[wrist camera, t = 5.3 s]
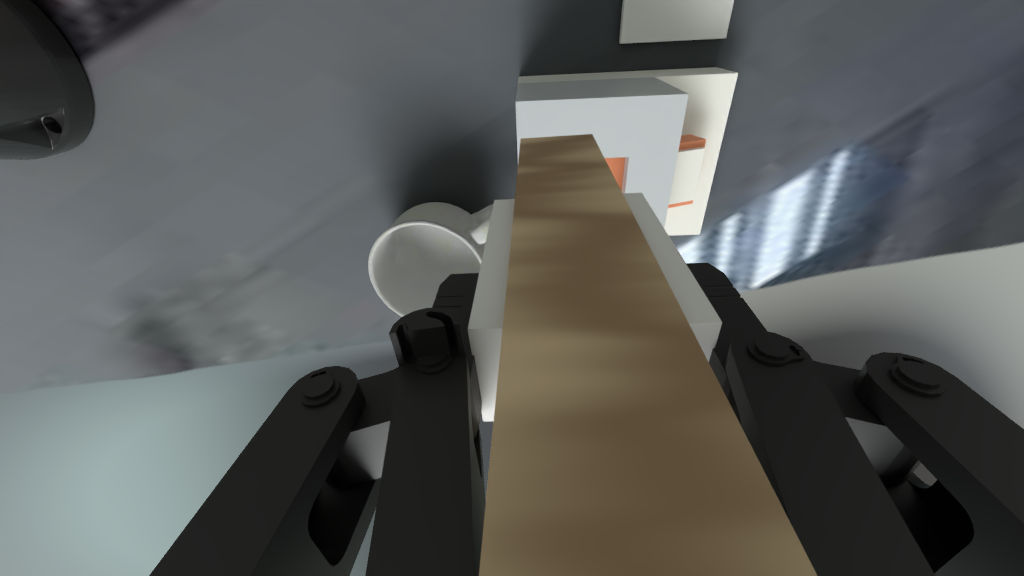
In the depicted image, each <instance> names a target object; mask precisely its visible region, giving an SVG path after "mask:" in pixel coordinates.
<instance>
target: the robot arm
mask: <svg viewBox="0 0 1024 576" xmlns="http://www.w3.org/2000/svg"><path fill="white" fill-rule="evenodd" d="M93 115H94V109H93V100H92V94H91V91H90V87H89V84H88V81H87V78H86V76H85V73H84V71H83V69H82V67H81V65H80V63H79V61H78V59H77V57H76V56H75V54H74V52H73V51H72V49H71V48H70V46H69V45H68V43H67V42H66V40H65V39H64V37H63V36H62V35H61V33H60V32H59V31H58V29H57V28H56V27H55V26H54V24H53V23H52V22H51V21H50V20H49V19H48V18H47V16H46V15H45V14H44V13H43V12H42V11H41V10H40V9H39V8H38V7H37V6H36V5H35V4H34V3H33V2H32V1H31V0H0V159H19V160H29V159H39V158H45V157H48V156H52V155H55V154H58V153H62V152H65V151H69V150H71V149H73V148H75V147H77V146H78V145H80V144H81V143H82V142H83V141H84V140H85V139H86V137H87V136H88V134H89V132H90V130H91V127H92V123H93ZM623 195H624V197H625V199H626V201H627V203H628V205H629V207H630V209H631V211H632V213H633V215H634V217H635V219H636V221H637V223H638V225H639V227H640V229H641V231H642V233H643V235H644V237H645V239H646V240H647V242H648V244H649V246H650V248H651V250H652V252H653V254H654V256H655V258H656V260H657V262H658V264H659V266H660V268H661V270H662V272H663V274H664V276H665V278H666V280H667V282H668V284H669V286H670V288H671V290H672V291H673V293H674V295H675V297H676V299H677V301H678V303H679V305H680V307H681V309H682V311H683V313H684V315H685V317H686V319H687V321H688V323H689V325H690V327H691V329H692V331H693V333H694V335H695V337H696V339H697V341H698V342H699V344H700V346H701V348H702V350H703V352H704V354H705V356H706V358H707V360H708V362H709V364H710V366H711V368H712V370H713V372H714V374H715V376H716V378H717V380H718V382H719V384H720V386H721V388H722V390H723V392H724V393H725V395H726V397H727V399H728V401H729V403H730V405H731V407H732V409H733V411H734V413H735V415H736V417H737V419H738V421H739V423H740V425H741V427H742V429H743V431H744V433H745V435H746V437H747V439H748V441H749V443H750V444H751V446H752V448H753V450H754V452H755V454H756V456H757V458H758V460H759V462H760V464H761V466H762V468H763V470H764V472H765V474H766V476H767V478H768V480H769V482H770V484H771V486H772V488H773V490H774V492H775V494H776V495H777V497H778V499H779V501H780V503H781V505H782V507H783V509H784V511H785V513H786V515H787V517H788V519H789V521H790V523H791V525H792V527H793V529H794V531H795V533H796V535H797V537H798V539H799V541H800V543H801V545H802V546H803V548H804V550H805V552H806V554H807V556H808V558H809V560H810V562H811V564H812V566H813V568H814V570H815V572H816V574H817V576H1024V429H1023V428H1021V427H1020V426H1019V425H1017V424H1016V423H1015V422H1014V421H1012V420H1010V419H1009V418H1008V417H1007V416H1006V415H1005V414H1003V413H1002V412H1001V411H999V410H998V409H997V408H995V407H994V406H993V405H991V404H990V403H989V402H988V401H986V400H985V399H984V398H983V397H981V396H980V395H979V394H977V393H976V392H975V391H973V390H972V389H971V388H970V387H968V386H967V385H966V384H964V383H963V382H962V381H960V380H959V379H958V378H957V377H955V376H954V375H952V374H950V373H949V372H947V371H946V370H944V369H943V368H941V367H939V366H937V365H935V364H933V363H930V362H928V361H925V360H923V359H921V358H917V357H914V356H909V355H905V354H901V353H885V352H883V353H879V354H876V355H872V356H871V357H870V358H869V359H868V360H867V361H866V362H865V364H864V366H863V368H862V370H856V369H851V368H846V367H841V366H835V365H830V364H825V363H820V362H816V361H813V360H812V358H811V357H810V355H809V354H808V353H807V352H806V351H805V350H804V349H803V347H801V346H800V345H798V344H797V343H795V342H793V341H792V340H790V339H789V338H786V337H783V336H781V335H778V334H776V333H772V332H767V330H766V329H765V328H764V326H763V325H762V324H761V322H760V321H759V320H758V318H757V317H756V315H755V314H754V313H753V311H752V310H751V309H750V307H749V306H748V305H747V303H746V302H745V301H744V299H743V298H740V294H739V293H738V291H737V290H736V289H735V288H733V285H732V283H731V282H730V281H729V279H728V278H727V277H726V275H725V274H724V273H723V272H721V271H720V270H718V269H717V268H715V267H714V266H712V265H710V264H709V263H690V264H686V263H685V261H684V260H683V258H682V257H681V255H680V253H679V252H678V250H677V249H676V247H675V245H674V244H673V242H672V240H671V239H670V237H669V236H668V234H667V232H666V231H665V229H664V228H663V226H662V224H661V223H660V221H659V220H658V218H657V216H656V215H655V213H654V212H653V210H652V208H651V207H650V205H649V203H648V202H647V200H646V199H645V197H644V195H643V194H642V192H641V193H623ZM514 203H515V199H506V200H494V204H493V209H492V214H491V219H490V223H489V228H488V233H487V238H486V243H485V248H484V252H483V257H482V262H481V267H480V272H479V273H464V274H450V275H449V276H448V277H447V278H446V279H445V280H444V281H443V282H442V283H441V284H440V286H439V289H438V292H437V294H436V299H435V300H434V303H433V306H432V308H424V309H420V310H416V311H413V312H411V313H409V314H407V315H405V316H403V317H401V318H400V319H399V320H398V321H397V322H396V323H395V324H394V325H393V326H392V328H391V330H390V332H389V335H390V338H391V341H392V344H393V348H394V351H395V354H396V357H397V360H398V364H399V367H398V368H396V369H394V370H391V371H389V372H386V373H383V374H379V375H375V376H372V377H368V378H364V379H360V380H358V379H357V376H356V374H355V373H354V372H353V371H351V370H350V369H349V368H345V367H340V366H333V367H324V368H322V369H319V370H316V371H313V372H311V373H309V374H307V375H306V376H304V377H303V378H301V379H299V380H298V381H297V382H296V383H295V384H294V385H293V386H292V387H291V388H290V389H289V390H288V392H287V393H286V394H285V395H284V397H283V398H282V399H281V401H280V402H279V404H278V405H277V406H276V407H275V409H274V410H273V411H272V413H271V414H270V415H269V417H268V418H267V419H266V421H265V422H264V423H263V425H262V426H261V427H260V429H259V430H258V431H257V433H256V434H255V435H254V437H253V438H252V439H251V441H250V442H249V443H248V445H247V446H246V447H245V449H244V450H243V451H242V453H241V454H240V455H239V457H238V458H237V460H236V461H235V462H234V464H233V465H232V466H231V467H230V469H229V470H228V471H227V473H226V474H225V475H224V477H223V478H222V479H221V481H220V482H219V484H218V485H217V486H216V487H215V489H214V490H213V491H212V493H211V494H210V496H209V497H208V498H207V499H206V501H205V502H204V503H203V505H202V506H201V507H200V509H199V510H198V512H197V513H196V514H195V516H194V517H193V518H192V519H191V521H190V522H189V523H188V525H187V526H186V527H185V529H184V530H183V532H182V533H181V534H180V535H179V537H178V538H177V539H176V541H175V542H174V543H173V545H172V546H171V547H170V549H169V550H168V551H167V553H166V554H165V555H164V557H163V558H162V560H161V561H160V562H159V563H158V565H157V566H156V567H155V569H154V570H153V571H152V573H151V574H150V576H349V575H350V573H351V570H352V568H353V565H354V562H355V560H356V557H357V555H358V552H359V550H360V547H361V544H362V542H363V540H364V537H365V535H366V532H367V530H368V527H369V524H370V522H371V519H372V517H373V514H374V512H375V509H376V513H375V520H374V526H373V533H372V538H371V545H370V552H369V557H368V564H367V570H366V576H479V569H480V558H481V548H482V537H483V527H484V517H485V506H486V501H485V486H484V472H483V455H482V440H481V434H480V429H479V422H480V415H481V411H482V417H483V421H494V412H495V402H496V391H497V381H498V370H499V360H500V349H501V339H502V328H503V318H504V307H505V297H506V287H507V276H508V266H509V255H510V245H511V234H512V224H513V213H514ZM920 463H922V464H923V465H924V466H925V467H926V468H927V469H928V470H929V471H930V472H931V473H932V474H933V475H934V476H935V478H937V481H936V482H935V483H934V484H933V485H932V486H929V485H927V484H925V483H924V482H923V481H921V480H920V479H919V478H918V477H917V476H916V475H915V474H914V473H913V472H914V471H915V469H916V468H917V467H918V466H919V465H920Z"/></svg>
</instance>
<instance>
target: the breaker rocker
mask: <svg viewBox="0 0 1024 576" xmlns="http://www.w3.org/2000/svg"><path fill="white" fill-rule="evenodd" d="M705 143H706V139H704V138H701V137H697V136H694V135H691V134H687V135H681V139H680V145H679V150H678V156H677V161H676V167H675V172H674V178H673V183H672V189H671V194H670V200H669V205H668V208H672V207H677V206H682V205H688V204H692V203H693V200H694V197H695V193H696V188H697V184H698V179H699V175H700V170H701V165H702V161H703V156H704V152H705ZM605 160H606V162H607V164H608V166H609V168H610V170H611V172H612V174H613V176H614V178H615V180H616V182H617V184H618V186H619V188H620V189H621V191H622V182H623V173H624V164H625V157H618V158H605Z"/></svg>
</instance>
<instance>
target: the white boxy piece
mask: <svg viewBox="0 0 1024 576" xmlns="http://www.w3.org/2000/svg"><path fill="white" fill-rule="evenodd" d="M737 76H738V73H736V72H733V71H729V70H726V69H722V68H718V67H707V68H686V69H665V70H644V71H623V72H602V73H581V74H560V75H539V76H519V78H518V86H517V94H516V125H517V152H518V161H519V151H520V140H521V138H537V137H553V136H569V135H585V134H592V135H593V137H594V138H595V140H596V142H597V144H598V146H599V148H600V150H601V152H602V154H603V156H604V158H618V157H625V164H624V173H623V182H622V193H641V192H642V194H643V195H644V197H645V199H646V200H647V202H648V203H649V205H650V207H651V208H652V210H653V212H654V213H655V215H656V216H657V218H658V220H659V221H660V223H661V224H662V226H663V228H664V229H665V231H666V232H667V234H668V235H700V231H701V227H702V223H703V218H704V214H705V210H706V206H707V202H708V197H709V193H710V189H711V185H712V181H713V177H714V172H715V168H716V164H717V160H718V156H719V151H720V147H721V143H722V139H723V135H724V130H725V126H726V122H727V118H728V114H729V110H730V105H731V101H732V97H733V93H734V89H735V84H736V80H737ZM687 134H691V135H694V136H697V137H701V138H704V139H706V143H705V152H704V156H703V161H702V165H701V170H700V175H699V179H698V184H697V188H696V193H695V197H694V200H693V203H692V204H688V205H682V206H677V207H672V208H668V205H669V200H670V194H671V189H672V183H673V178H674V172H675V167H676V161H677V156H678V150H679V145H680V139H681V135H687Z"/></svg>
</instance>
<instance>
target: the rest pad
mask: <svg viewBox="0 0 1024 576" xmlns="http://www.w3.org/2000/svg"><path fill="white" fill-rule="evenodd" d="M733 3H734V0H623V3H622V15H621V26H620V37H619V43H620V44H625V43H644V42H664V41H683V40H703V39H722V38H726V36H727V31H728V26H729V22H730V17H731V12H732V8H733Z"/></svg>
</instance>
